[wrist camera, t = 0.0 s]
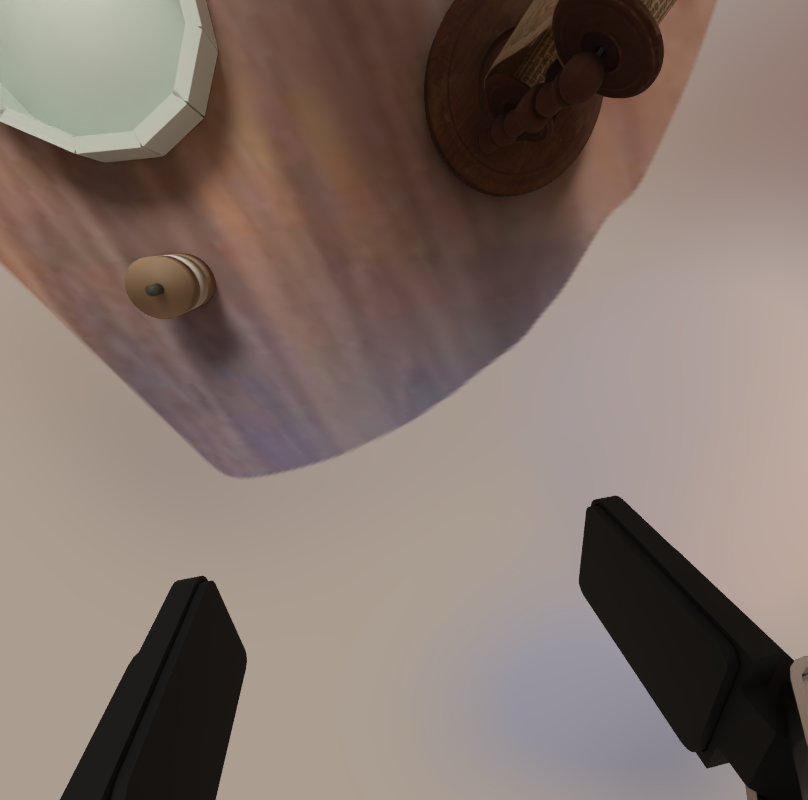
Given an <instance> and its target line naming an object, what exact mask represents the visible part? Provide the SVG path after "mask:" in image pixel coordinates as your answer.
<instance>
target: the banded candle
mask: <svg viewBox="0 0 808 800" xmlns="http://www.w3.org/2000/svg"><path fill="white" fill-rule="evenodd" d="M215 285H216V284H215V278H214V275H213V273H212V271H211V269H210V268H209V267H208V265H207V264H206V263H205V262H204V261H202V260H201V259H199V258H198V257H196V256H193V255H190V254H171V255H161V256H151V257H144V258H140V259H138V260H136V261H135V262H133V263H132V264H131V265H130V266H129V268H128V269H127V272H126V275H125V288H126V292H127V294H128V296H129V298H130V300H131V301H132V302H133V304H134V305H135V306H136V307H137V308H138V309H140V310H141V311H142V312H144V313H145V314H147V315H149V316H152V317H155V318H159V319H171V318H175V317H178V316H180V315H182V314H184V313H186V312H188V311H190V310H193V309H195V308H197V307H199V306H201V305H203V304H205V303H207V302H208V301H209V300H210V299H211V298H212V296H213V294H214V292H215Z"/></svg>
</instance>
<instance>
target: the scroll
mask: <svg viewBox="0 0 808 800" xmlns="http://www.w3.org/2000/svg"><path fill="white" fill-rule="evenodd" d="M675 2H676V0H455V1H454V2H453V4H452V5H451V7H450V8H449V10H448V11H447V13H446V15H445V17H444V19H443V21H442V22H441V25H440V27H439V29H438V31H437V33H436V36H435V38H434V41H433V44H432V47H431V50H430V53H429V57H428V61H427V67H426V73H425V83H424V101H425V112H426V118H427V123H428V127H429V131H430V134H431V137H432V140H433V142H434V144H435V147H436V149H437V151H438V153H439V155H440V156H441V158H442V160H443V161H444V163H445V164H446V165H447V167H448V168H449V169H450V170H451V172H452V173H453V174H454V175H455V176H456V177H457V178H459V179H460V180H461V181H462V182H463V183H465V184H466V185H468V186H469V187H471V188H473V189H475V190H477V191H479V192H482V193H485V194H489V195H493V196H516V195H520V194H524V193H528V192H531V191H534V190H537V189H539V188H541V187H543V186H545V185H547V184H548V183H550V182H552V181H553V180H554V179H556V178H557V177H558V176H560V175H561V174H562V173H563V172H564V171H565V170H566V169H567V168H568V167H569V166H570V165H571V164H572V163H573V161H574V160H575V159H576V158H577V156H578V155H579V154H580V152H581V151H582V149H583V148H584V146H585V144H586V143H587V141H588V139H589V137H590V135H591V133H592V131H593V129H594V126H595V123H596V121H597V118H598V115H599V112H600V108H601V104H602V99H603V96H605V97H610V98H628V97H633V96H636V95H638V94H640V93H642V92H644V91H645V90H646V89H648V88H649V87H650V86H651V84H652V83H653V82H654V81H655V79H656V78H657V76H658V74H659V72H660V70H661V67H662V63H663V57H664V47H663V40H662V35H661V32H660V29H659V26H658V25H659V24H660V23H661V21H662V20H663V18H664V17H665V16H666V14H667V13H668V12H669V10H670V9H671V7H672V6H673V5H674V3H675Z"/></svg>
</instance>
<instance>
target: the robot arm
mask: <svg viewBox="0 0 808 800" xmlns="http://www.w3.org/2000/svg"><path fill="white" fill-rule="evenodd" d="M579 585H580V588H581V591H582V593H583V595H584V596H585V598H586V599H587V601H588V603H589V604H590V605H591V607H592V608H593V610H594V612H595V613H596V615H597V616H598V618H599V619H600V621H601V622H602V623H603V625H604V627H605V628H606V630H607V631H608V633H609V634H610V636H611V637H612V639H613V640H614V642H615V643H616V645H617V646H618V648H619V649H620V651H621V652H622V654H623V655H624V657H625V658H626V660H627V661H628V663H629V664H630V666H631V667H632V669H633V670H634V672H635V673H636V674H637V676H638V678H639V679H640V681H641V682H642V684H643V685H644V687H645V688H646V690H647V691H648V693H649V694H650V696H651V697H652V699H653V700H654V702H655V703H656V705H657V706H658V708H659V709H660V711H661V712H662V714H663V715H664V717H665V718H666V720H667V721H668V723H669V724H670V726H671V727H672V729H673V731H674V732H675V733H676V735H677V736H678V738H679V739H680V741H681V742H682V743H683V745H684V746H685V747H686V748H687V749H688V750H690V751H691V752H696V753H697V755H698V756H699V758H700V759H701V761H702V762H703V763H704V765H705V766H706V768H710V767H715V766H718V765H722V764H726V763H730V764H731V765H732V767H733V768H734V770H735V771H736V772H737V774H738V775H739V776H740V778H741V779H742V781H743V782H744V783H745V785H746V794H747V800H808V656H804V657H802V658H799V659H796V660H795V661H794V660H793V659H792V658H791V657H790V656H788V655H787V654H786V653H785V652H784V651H783V650H782V649H781V648H780V647H779V646H778V645H777V644H776V643H775V642H774V641H773V640H772V639H771V638H770V637H768V636H767V635H766V634H765V633H764V632H763V631H762V630H761V629H760V628H759V627H758V626H757V625H756V624H755V623H754V622H752V620H750V619H749V618H748V617H747V616H746V615H745V614H744V613H743V612H742V611H741V610H740V609H739V608H738V607H737V606H736V605H734V603H732V602H731V601H730V600H729V599H728V598H727V597H726V596H725V595H724V594H723V593H722V592H721V591H720V590H718V588H716V587H715V586H714V585H713V584H712V583H711V582H710V581H709V580H708V579H707V578H706V577H705V576H704V575H703V574H701V573H700V572H699V570H697V569H696V568H695V567H694V566H693V565H692V564H691V563H690V562H689V561H688V560H687V559H686V558H685V557H684V556H683V555H682V554H681V553H679V552H678V551H677V550H676V549H675V548H673V547H672V546H671V545H670V544H669V543H668V542H667V541H666V540H665V539H664V538H663V537H662V536H661V535H660V534H659V533H658V532H657V531H655V530H654V529H653V528H652V527H651V526H650V525H649V524H648V523H647V522H646V521H645V520H644V519H642V517H641V516H640V515H639V514H638V513H636V512H635V511H634V510H633V509H632V508H631V507H630V506H629V505H628V504H627V503H626V502H625V501H624V500H623V499H621V498H620V497H618V496H612V497H606V498H601V499H596V500H593V502H592V504H591V507H588V508H587V511H586V519H585V527H584V537H583V546H582V556H581V565H580V574H579ZM246 663H247V657H246V651H245V649H244V646H243V644H242V642H241V640H240V638H239V635H238V634H237V631H236V629H235V626H234V624H233V622H232V620H231V618H230V615H229V613H228V611H227V609H226V606H225V604H224V602H223V600H222V598H221V595H220V593H219V591H218V589H217V587H216V584H215V583H214V581H208V580H207V579H206V577H204V576H199V577H194V578H188V579H183V580H178V581H176V582H175V583H174V584H173V586H172V587H171V589H170V591H169V593H168V595H167V597H166V599H165V601H164V603H163V605H162V607H161V609H160V611H159V613H158V615H157V617H156V619H155V621H154V623H153V625H152V627H151V629H150V631H149V634H148V635H147V637H146V639H145V641H144V643H143V645H142V647H141V649H140V651H139V653H138V654H137V655H135V656H134V657H133V659H132V661H131V662H130V664H129V665H128V667H127V669H126V671H125V673H124V675H123V677H122V679H121V681H120V683H119V685H118V687H117V689H116V691H115V693H114V695H113V697H112V698H111V701H110V702H109V705H108V706H107V709H106V710H105V712H104V714H103V716H102V718H101V720H100V722H99V724H98V726H97V728H96V730H95V732H94V734H93V736H92V738H91V740H90V742H89V744H88V746H87V748H86V750H85V752H84V754H83V756H82V758H81V759H80V762H79V763H78V765H77V768H76V769H75V771H74V773H73V775H72V777H71V779H70V781H69V783H68V785H67V787H66V789H65V791H64V793H63V795H62V797H61V799H60V800H215V799H216V795H217V791H218V787H219V782H220V778H221V774H222V769H223V765H224V761H225V756H226V751H227V747H228V743H229V739H230V735H231V730H232V725H233V722H234V718H235V713H236V709H237V704H238V700H239V696H240V691H241V687H242V683H243V679H244V674H245V670H246Z"/></svg>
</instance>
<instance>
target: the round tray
mask: <svg viewBox="0 0 808 800" xmlns="http://www.w3.org/2000/svg"><path fill="white" fill-rule="evenodd" d="M217 50H218V48H217V43H216V39H215V35H214V31H213V27H212V23H211V19H210V15H209V11H208V7H207V3H206V0H0V122H3V123H5V124H7V125H10V126H12V127H14V128H17V129H19V130H21V131H24V132H26V133H28V134H31V135H33V136H35V137H38V138H40V139H42V140H45V141H47V142H49V143H51V144H54V145H56V146H58V147H61V148H63V149H65V150H68V151H70V152H72V153H75V154H78V155H81V156H85V157H88V158H91V159H94V160H97V161H101V162H105V163H107V162H117V161H126V160H136V159H146V158H156V157H163V156H165V155H166V154H167V153H168V152H169V151H170V150H171V149H172V148H173V147H174V146H175V145H176V144H177V143H178V142H180V141H181V140H182V139H183V138H184V137H185V136H186V135H187V134H188V133H189V132H190V131H191V130H192V129H193V128H194V127H195V126H196V125H197V124H198V123H199V122H201V121H202V120H203V119H204V118H203V117H202V115H203V116H205V113H206V108H207V103H208V99H209V94H210V89H211V84H212V79H213V75H214V70H215V65H216V60H217V55H218V51H217ZM162 155H163V156H162Z"/></svg>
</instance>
